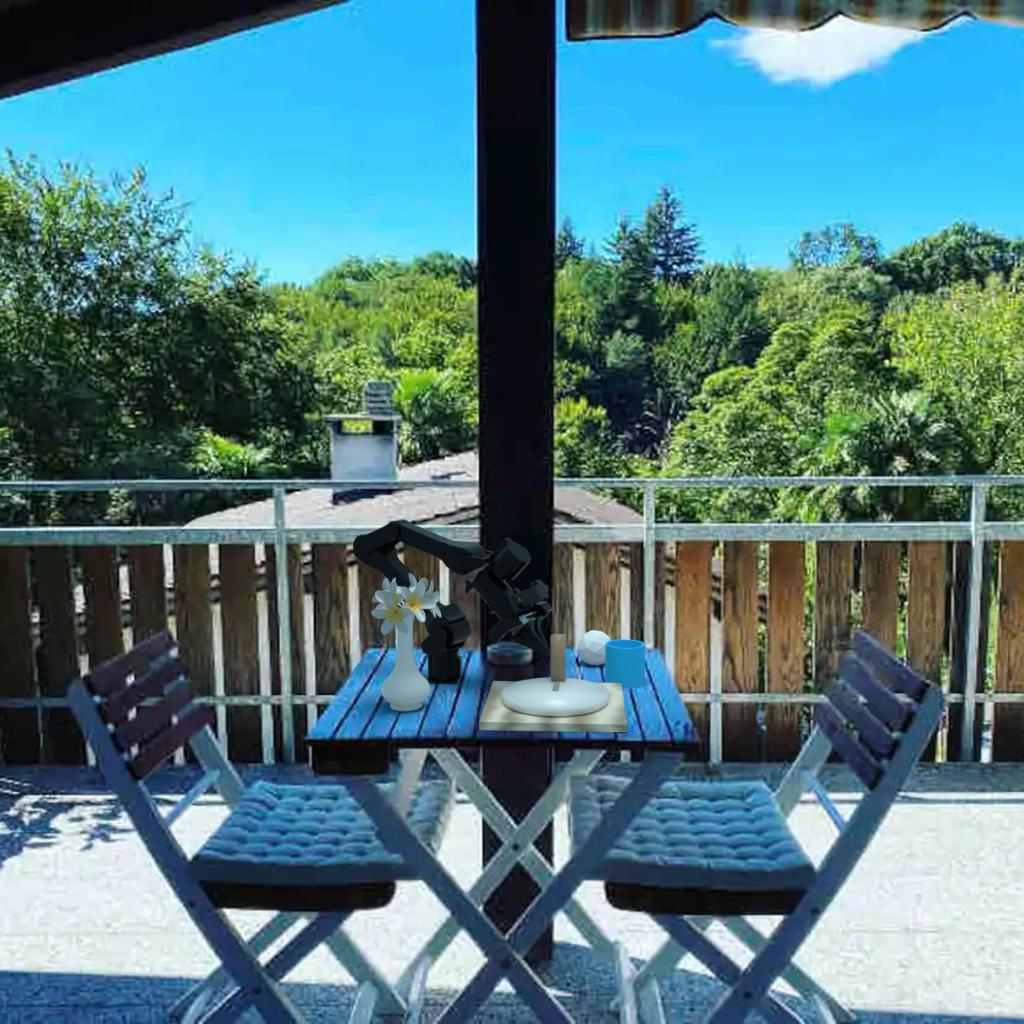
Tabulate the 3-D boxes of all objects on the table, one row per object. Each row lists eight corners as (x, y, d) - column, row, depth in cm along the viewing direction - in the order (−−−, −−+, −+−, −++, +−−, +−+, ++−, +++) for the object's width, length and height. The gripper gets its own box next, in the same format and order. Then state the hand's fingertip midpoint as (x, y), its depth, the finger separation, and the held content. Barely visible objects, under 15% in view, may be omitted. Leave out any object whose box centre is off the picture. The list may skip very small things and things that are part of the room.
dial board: (479, 730, 172) (479, 720, 172) (493, 688, 197) (493, 679, 197) (627, 732, 170) (627, 723, 170) (621, 690, 196) (621, 681, 195)
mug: (645, 688, 197) (645, 649, 196) (605, 687, 198) (605, 648, 197) (643, 672, 209) (643, 635, 208) (605, 671, 210) (605, 634, 209)
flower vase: (368, 724, 175) (365, 587, 173) (378, 694, 194) (376, 570, 191) (440, 722, 176) (438, 586, 173) (443, 693, 194) (442, 570, 191)
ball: (603, 677, 215) (615, 654, 210) (569, 664, 215) (581, 641, 210) (609, 654, 221) (620, 630, 216) (576, 641, 221) (587, 618, 216)
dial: (606, 717, 172) (607, 660, 171) (495, 714, 175) (495, 657, 174) (609, 686, 192) (609, 634, 191) (509, 683, 195) (508, 632, 193)
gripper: (501, 576, 184) (554, 638, 180) (543, 562, 201) (593, 619, 197) (466, 613, 188) (517, 675, 185) (510, 597, 205) (558, 653, 201)
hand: (548, 654), depth 192 cm, fingers closed
